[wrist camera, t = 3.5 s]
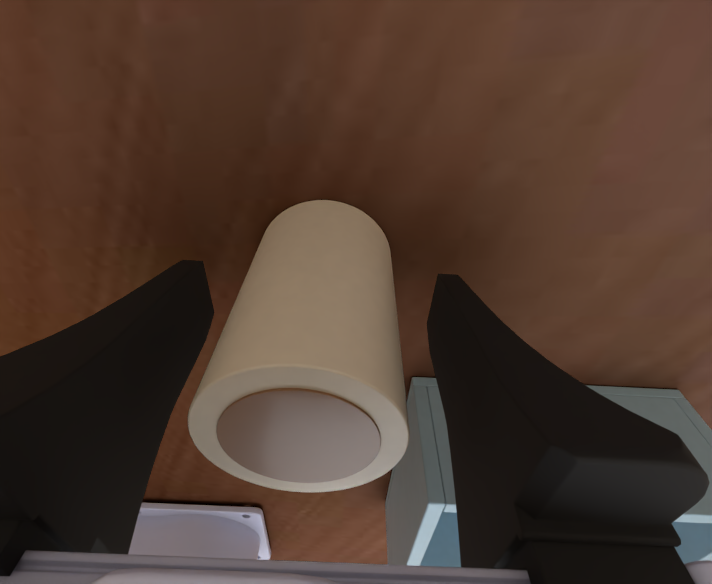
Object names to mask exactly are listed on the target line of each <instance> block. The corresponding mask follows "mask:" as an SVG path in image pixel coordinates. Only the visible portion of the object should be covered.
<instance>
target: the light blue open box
mask: <svg viewBox="0 0 712 584" xmlns="http://www.w3.org/2000/svg"><path fill="white" fill-rule="evenodd" d="M586 386H587V387H589V388H591V389H592V390H594V391H596V392H597V393H599V394H601V395H602V396H604V397H606V398H608V399H610V400H611V401H613V402H615V403H617V404H619V405H620V406H622V407H624V408H626V409H628V410H630V411H631V412H633V413H636V414H638V415H640V416H642V417H644V418H646V419H648V420H650V421H652V422H654V423H656V424H658V425H660V426H662V427H664V428H666V429H668V430H670V431H672V432H674V433H676V434H678V435H679V437H680V438H681V439H682V440H683V442H684V443H685V445H686V446H687V447H688V449H689V450H690V451H691V453H692V454H693V456H694V457H695V458H696V460H697V461H698V463H699V464H700V465H701V467H702V468H703V469H704V471H705V472H706V474H707V475H708V479H709V486H708V489H707V491H706V494H705V496H704V497H703V498H702V499H701V500H700V501H699V502H698V503H697V504H696V505H694V506H693V507H692V508H690V509H689V510H688V511H687V512H685V513H684V514H683V515H682V516H680V517H679V518H678V519H676V520H675V521H674V522H673V523H671V524H672V525H673V527H674V529H675V530H676V532H677V534H678V535H679V537H680V539H681V545H679V546H678V547H675V549H676V551H677V553H678V554H679V556H680V558H681V560H682V562H683V563H684V564H686V563H689V562H694V561H703V560H710V561H712V430H711V429H710V428H709V427H708V425H707V424H706V423H705V422H704V420H703V419H702V418H701V417H700V415H699V414H698V413H697V412H696V411H695V409H694V408H693V407H692V406H691V404H690V403H689V402H688V401H687V399H685V397H684V396H683V395H682V393H681V392H680V391H679V390H673V389H653V388H632V387H612V386H591V385H586ZM407 412H408V421H409V431H410V438H409V444H408V447H407V450H406V452H405V454H404V456H403V457H402V459H401V460H400V461H399V462H398V463H397V465H396V466H395V467H393V469H392V474H391V479H390V483H389V488H388V493H387V497H386V502H385V509H386V532H387V556H388V565H411V566H436V567H461V561H460V547H459V534H458V522H457V511H456V500H455V489H454V480H453V472H452V463H451V454H450V446H449V439H448V431H447V424H446V419H445V414H444V410H443V405H442V401H441V397H440V393H439V389H438V385H437V380H436V378H426V377H412V380H411V385H410V390H409V394H408V399H407Z"/></svg>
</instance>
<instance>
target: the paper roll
mask: <svg viewBox="0 0 712 584" xmlns="http://www.w3.org/2000/svg"><path fill="white" fill-rule="evenodd" d="M188 429H189V433H190V436H191V438H192V440H193V442H194V444H195V445H196V447H197V448H198V449H199V451H200V452H201V453H202V454H203V455H204V456H205V457H206V458H207V459H208V460H210V461H211V462H212V463H213V464H215V465H216V466H218V467H219V468H221V469H222V470H224V471H226V472H228V473H229V474H231V475H233V476H235V477H238V478H240V479H242V480H245V481H248V482H251V483H254V484H257V485H261V486H264V487H268V488H273V489H278V490H285V491H294V492H328V491H337V490H343V489H348V488H352V487H356V486H359V485H362V484H365V483H368V482H371V481H373V480H375V479H377V478H379V477H381V476H382V475H384V474H385V473H387V472H389V471H390V470H391V469H392V468H393V467H395V466H396V465H397V463H398V462H399V461H400V460H401V459H402V457H403V456H404V454H405V452H406V450H407V447H408V444H409V438H410V431H409V421H408V412H407V403H406V393H405V384H404V374H403V365H402V355H401V346H400V336H399V327H398V318H397V308H396V299H395V289H394V280H393V270H392V261H391V251H390V247H389V243H388V241H387V238H386V236H385V234H384V233H383V231H382V229H381V228H380V227H379V226H378V224H377V223H376V222H375V221H374V220H373V219H372V218H371V217H370V216H368V215H367V214H365V213H364V212H363V211H361V210H359V209H357V208H355V207H353V206H350V205H348V204H345V203H341V202H337V201H330V200H314V201H307V202H303V203H299V204H297V205H294V206H292V207H290V208H288V209H286V210H285V211H283V212H282V213H280V214H279V215H278V216H277V217H276V218H275V219H274V220H273V221H272V222H271V223H270V225H269V226H268V228H267V229H266V231H265V233H264V236H263V238H262V240H261V242H260V245H259V247H258V249H257V252H256V254H255V256H254V259H253V261H252V263H251V266H250V268H249V270H248V273H247V275H246V277H245V280H244V282H243V284H242V287H241V289H240V291H239V294H238V296H237V298H236V301H235V303H234V305H233V308H232V310H231V312H230V315H229V317H228V319H227V322H226V324H225V326H224V329H223V331H222V333H221V336H220V338H219V340H218V343H217V345H216V347H215V350H214V352H213V354H212V357H211V359H210V361H209V364H208V366H207V368H206V371H205V373H204V375H203V378H202V380H201V382H200V385H199V387H198V389H197V392H196V394H195V396H194V399H193V401H192V403H191V406H190V408H189V413H188Z"/></svg>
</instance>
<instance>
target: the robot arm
mask: <svg viewBox="0 0 712 584" xmlns="http://www.w3.org/2000/svg"><path fill="white" fill-rule="evenodd" d="M213 315H214V309H213V304H212V300H211V295H210V291H209V286H208V282H207V277H206V273H205V268H204V264H203V261H193V260H182V261H180V262H178V263H176V264H175V265H173V266H171V267H170V268H168V269H167V270H165V271H164V272H162V273H160V274H159V275H157V276H156V277H154V278H153V279H151V280H150V281H148V282H147V283H145V284H143V285H142V286H140V287H139V288H137V289H136V290H134V291H133V292H131V293H129V294H128V295H126V296H124V297H123V298H121V299H119V300H118V301H116V302H114V303H113V304H111V305H109V306H107V307H106V308H104V309H102V310H101V311H99V312H97V313H95V314H94V315H92V316H90V317H88V318H86V319H84V320H82V321H80V322H79V323H77V324H75V325H72V326H70V327H68V328H66V329H64V330H62V331H60V332H58V333H56V334H54V335H52V336H49V337H47V338H45V339H42V340H40V341H37V342H35V343H33V344H30V345H28V346H25V347H23V348H21V349H18V350H16V351H13V352H11V353H9V354H6V355H3V356H1V357H0V584H712V561H710V560H703V561H694V562H689V563H686V564H684V563H683V562H682V560H681V558H680V556H679V554H678V553H677V551H676V549H675V547H678V546H679V545H681V539H680V537H679V535H678V534H677V532H676V530H675V529H674V527H673V525H672V524H671V523H673V522H674V521H675V520H676V519H678V518H679V517H680V516H682V515H683V514H684V513H685V512H687V511H688V510H689V509H690V508H692V507H693V506H694V505H696V504H697V503H698V502H699V501H700V500H701V499H702V498H703V497H704V496H705V494H706V491H707V489H708V486H709V479H708V475H707V474H706V472H705V471H704V469H703V468H702V467H701V465H700V464H699V463H698V461H697V460H696V458H695V457H694V456H693V454H692V453H691V451H690V450H689V449H688V447H687V446H686V445H685V443H684V442H683V440H682V439H681V438H680V437H679V435H678V434H676V433H674V432H672V431H670V430H668V429H666V428H664V427H662V426H660V425H658V424H656V423H654V422H652V421H650V420H648V419H646V418H644V417H642V416H640V415H638V414H636V413H633V412H631V411H630V410H628V409H626V408H624V407H622V406H620V405H619V404H617V403H615V402H613V401H611V400H610V399H608V398H606V397H604V396H602V395H601V394H599V393H597V392H596V391H594V390H592V389H591V388H589V387H587V386H586V385H584V384H582V383H581V382H579V381H578V380H576V379H575V378H573V377H572V376H570V375H569V374H567V373H566V372H564V371H563V370H561V369H560V368H558V367H557V366H556V365H554V364H553V363H551V362H550V361H549V360H547V359H546V358H545V357H543V356H542V355H541V354H539V353H538V352H537V351H536V350H534V349H533V348H532V347H530V346H529V345H528V344H527V343H526V342H524V341H523V340H522V339H521V338H520V337H519V336H517V335H516V334H515V333H514V332H513V331H512V330H511V329H510V328H509V327H508V326H506V325H505V324H504V323H503V322H502V321H501V320H500V319H499V318H498V317H497V316H496V315H495V314H494V313H493V312H492V311H491V310H490V309H489V308H488V307H487V306H486V305H485V304H484V303H483V301H482V300H481V299H480V298H479V297H478V296H477V295H476V294H475V293H474V292H473V291H472V290H471V288H470V287H469V286H468V285H467V284H466V283H465V282H464V281H463V280H462V279H461V278H460V277H459V276H458V275H452V274H438V276H437V281H436V285H435V290H434V294H433V299H432V303H431V308H430V312H429V317H428V321H427V329H428V340H429V349H430V355H431V359H432V364H433V368H434V372H435V376H436V380H437V385H438V389H439V393H440V397H441V401H442V405H443V410H444V414H445V419H446V424H447V431H448V439H449V446H450V454H451V463H452V472H453V480H454V489H455V500H456V511H457V522H458V534H459V547H460V561H461V567H436V566H411V565H386V564H361V563H335V562H310V561H285V560H268V559H270V557H271V549H270V545H269V540H268V535H267V530H266V525H265V520H264V515H263V511H262V510H261V509H260V508H257V507H240V506H216V505H192V504H169V503H145V502H142V501H143V497H144V494H145V491H146V487H147V484H148V480H149V477H150V474H151V471H152V468H153V465H154V462H155V458H156V455H157V452H158V449H159V446H160V443H161V440H162V438H163V435H164V432H165V429H166V426H167V424H168V421H169V418H170V415H171V413H172V410H173V408H174V406H175V403H176V401H177V399H178V397H179V395H180V393H181V391H182V389H183V387H184V385H185V382H186V380H187V378H188V376H189V374H190V372H191V370H192V368H193V366H194V364H195V362H196V360H197V358H198V356H199V354H200V351H201V349H202V347H203V345H204V343H205V341H206V338H207V335H208V332H209V329H210V326H211V322H212V319H213Z"/></svg>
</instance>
